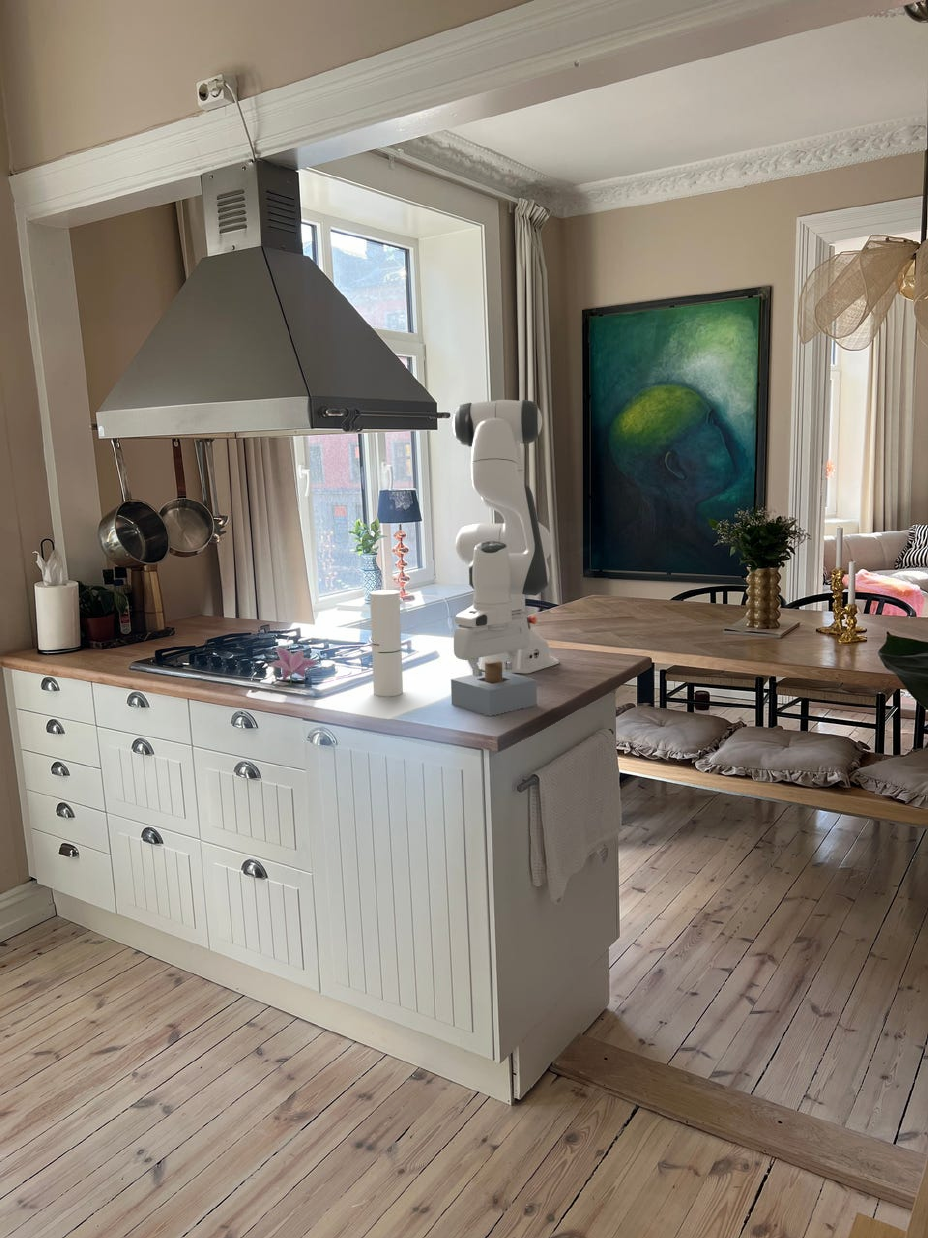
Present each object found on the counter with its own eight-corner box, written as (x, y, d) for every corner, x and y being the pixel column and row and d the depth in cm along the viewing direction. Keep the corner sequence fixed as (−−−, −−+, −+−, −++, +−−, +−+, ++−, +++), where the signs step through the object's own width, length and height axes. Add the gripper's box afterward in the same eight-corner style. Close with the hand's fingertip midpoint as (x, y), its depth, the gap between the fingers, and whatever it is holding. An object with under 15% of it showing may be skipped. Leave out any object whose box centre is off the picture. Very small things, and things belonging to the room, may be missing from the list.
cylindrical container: (388, 687, 233) (384, 589, 228) (409, 691, 228) (405, 591, 224) (367, 693, 227) (363, 592, 223) (388, 698, 223) (384, 595, 218)
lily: (326, 686, 240) (324, 650, 243) (295, 677, 230) (294, 641, 234) (290, 695, 246) (289, 661, 249) (259, 688, 236) (258, 652, 239)
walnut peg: (495, 701, 218) (494, 659, 216) (506, 704, 215) (505, 662, 213) (482, 704, 215) (481, 662, 214) (493, 708, 212) (492, 665, 210)
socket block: (497, 693, 225) (497, 669, 224) (536, 705, 214) (536, 679, 213) (451, 704, 216) (451, 679, 215) (490, 716, 205) (489, 690, 204)
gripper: (517, 606, 220) (518, 663, 222) (448, 617, 207) (450, 677, 210) (535, 609, 215) (535, 667, 218) (466, 621, 203) (467, 682, 205)
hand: (493, 672), depth 214 cm, fingers open, 8 cm apart
